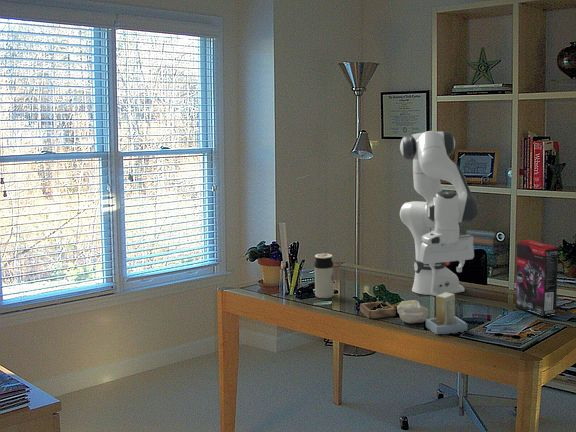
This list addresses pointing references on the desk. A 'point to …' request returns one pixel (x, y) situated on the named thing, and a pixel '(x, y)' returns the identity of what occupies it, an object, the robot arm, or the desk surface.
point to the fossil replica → (412, 311)
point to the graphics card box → (536, 277)
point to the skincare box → (445, 309)
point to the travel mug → (324, 276)
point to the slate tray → (446, 326)
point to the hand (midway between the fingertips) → (447, 273)
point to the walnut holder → (367, 311)
